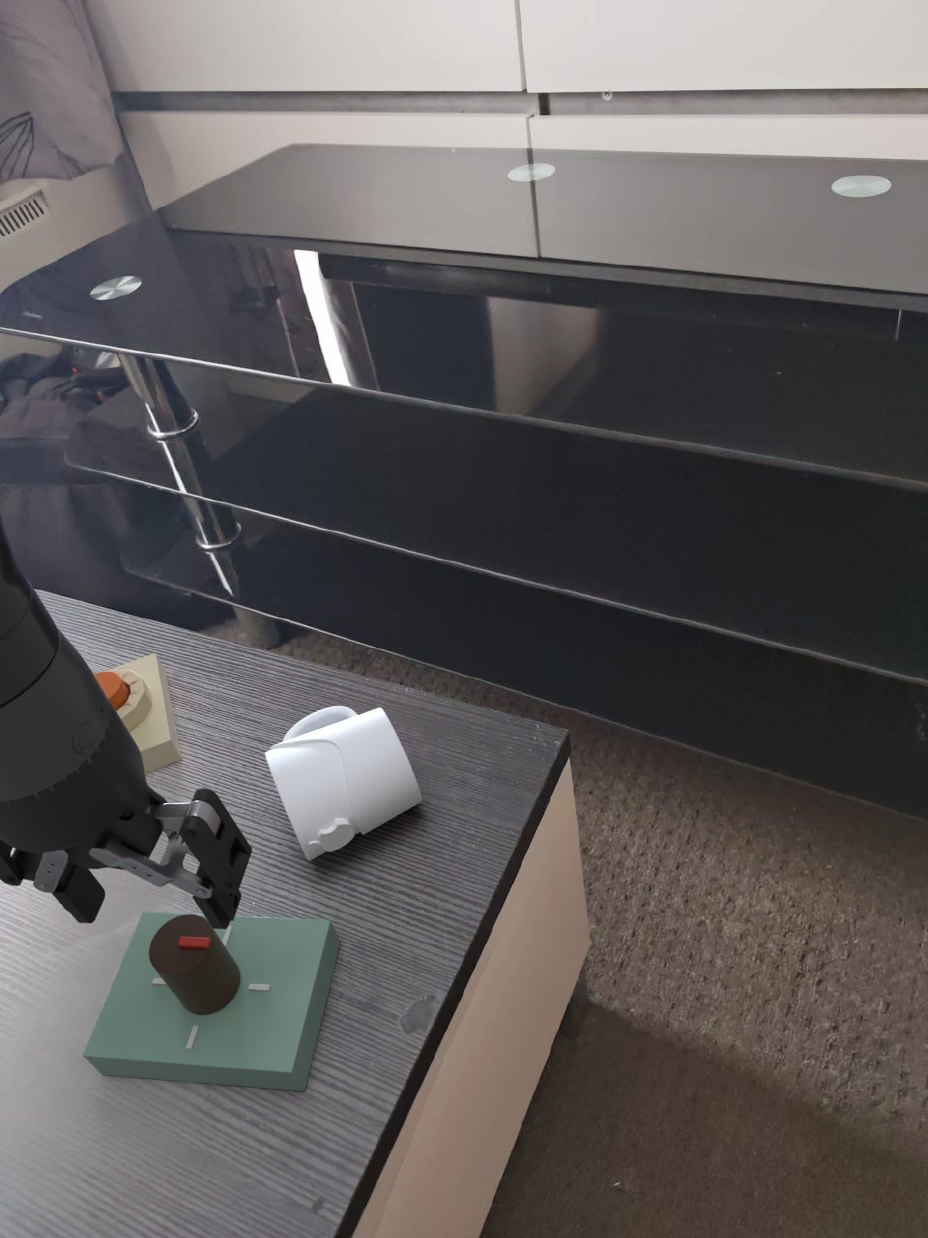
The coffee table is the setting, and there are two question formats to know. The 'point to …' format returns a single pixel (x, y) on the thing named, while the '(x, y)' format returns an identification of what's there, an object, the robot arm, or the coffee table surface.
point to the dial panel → (239, 1032)
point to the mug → (341, 776)
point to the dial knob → (194, 964)
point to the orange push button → (113, 688)
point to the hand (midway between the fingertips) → (159, 912)
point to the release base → (149, 712)
